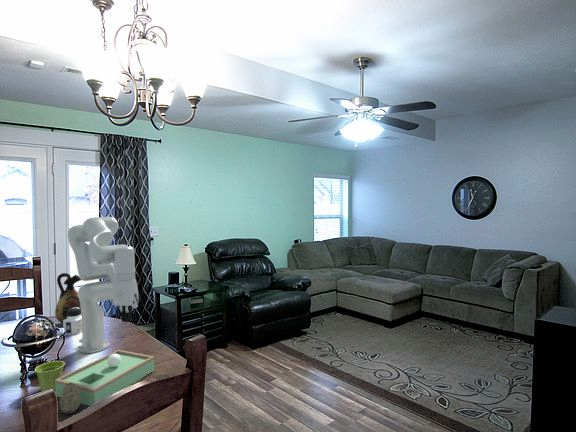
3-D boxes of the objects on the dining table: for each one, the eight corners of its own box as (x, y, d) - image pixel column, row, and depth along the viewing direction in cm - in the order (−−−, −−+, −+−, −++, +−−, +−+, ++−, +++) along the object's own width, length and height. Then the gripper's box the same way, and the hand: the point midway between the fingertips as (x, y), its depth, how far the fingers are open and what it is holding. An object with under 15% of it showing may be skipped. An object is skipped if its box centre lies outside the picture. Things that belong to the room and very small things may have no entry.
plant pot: (45, 383, 139) (44, 361, 139) (70, 381, 140) (69, 359, 140) (30, 396, 130) (28, 372, 130) (57, 394, 131) (56, 371, 130)
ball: (104, 368, 140) (103, 355, 140) (115, 362, 144) (114, 350, 144) (113, 370, 138) (113, 357, 138) (124, 364, 142) (123, 352, 142)
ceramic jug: (89, 318, 218) (86, 269, 217) (83, 326, 204) (81, 274, 202) (56, 321, 213) (54, 271, 211) (48, 330, 198) (46, 277, 197)
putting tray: (55, 396, 129) (54, 379, 129) (119, 363, 155) (118, 349, 155) (94, 407, 122) (94, 390, 121) (154, 370, 148) (154, 356, 147)
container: (77, 334, 191) (76, 310, 191) (63, 334, 191) (62, 310, 191) (85, 329, 199) (84, 306, 198) (72, 329, 199) (71, 306, 198)
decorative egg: (72, 418, 116) (70, 388, 115) (55, 417, 117) (54, 387, 116) (85, 408, 121) (84, 379, 121) (70, 406, 123) (68, 378, 122)
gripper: (103, 277, 146) (105, 321, 146) (132, 279, 140) (133, 326, 140) (118, 273, 152) (120, 316, 153) (146, 276, 147) (148, 320, 147)
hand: (127, 320), depth 147 cm, fingers closed
